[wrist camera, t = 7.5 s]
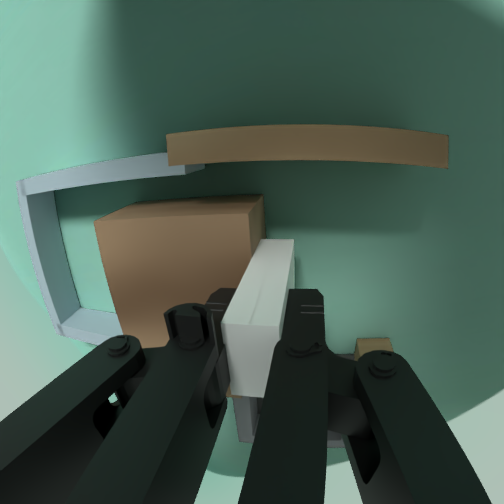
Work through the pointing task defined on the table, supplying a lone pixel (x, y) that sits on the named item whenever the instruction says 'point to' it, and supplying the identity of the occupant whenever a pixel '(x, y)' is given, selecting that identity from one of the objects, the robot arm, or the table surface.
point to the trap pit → (250, 412)
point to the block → (175, 255)
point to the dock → (51, 244)
